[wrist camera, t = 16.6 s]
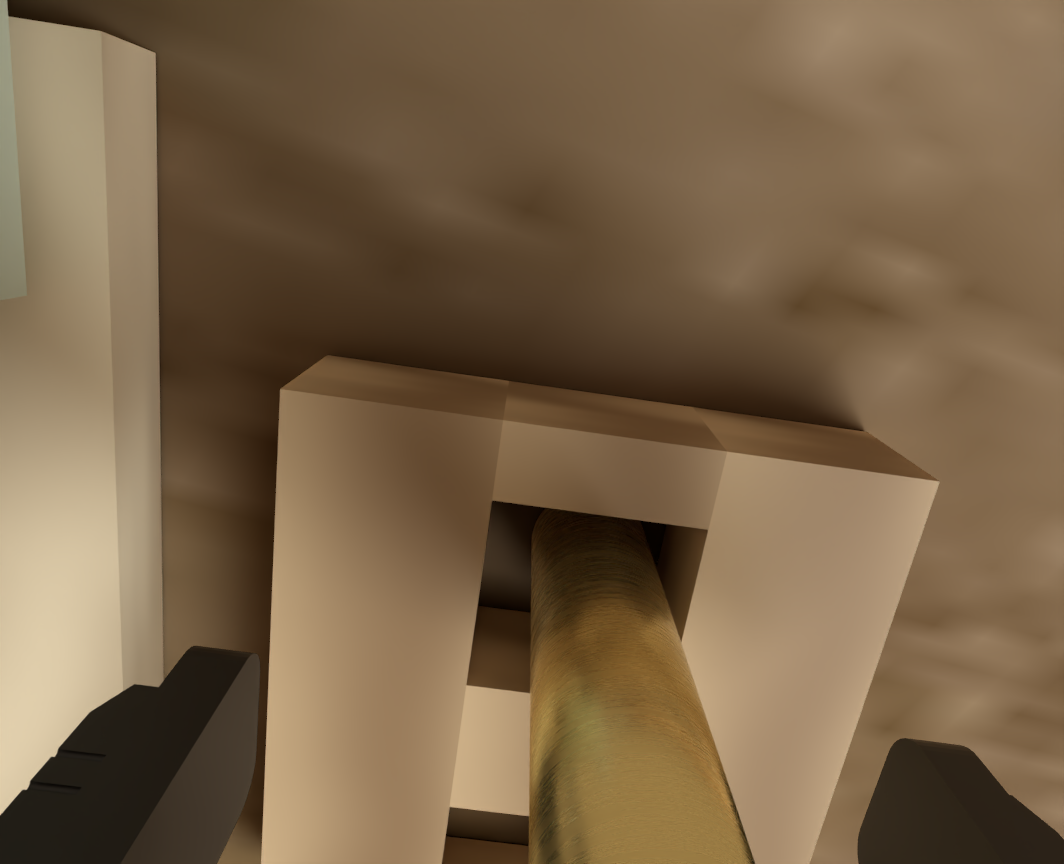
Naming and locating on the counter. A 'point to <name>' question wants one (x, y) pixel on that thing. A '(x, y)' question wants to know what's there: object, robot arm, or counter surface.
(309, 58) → the counter surface
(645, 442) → the socket board
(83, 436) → the board
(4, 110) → the cover
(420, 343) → the counter surface
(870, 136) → the counter surface
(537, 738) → the peg
